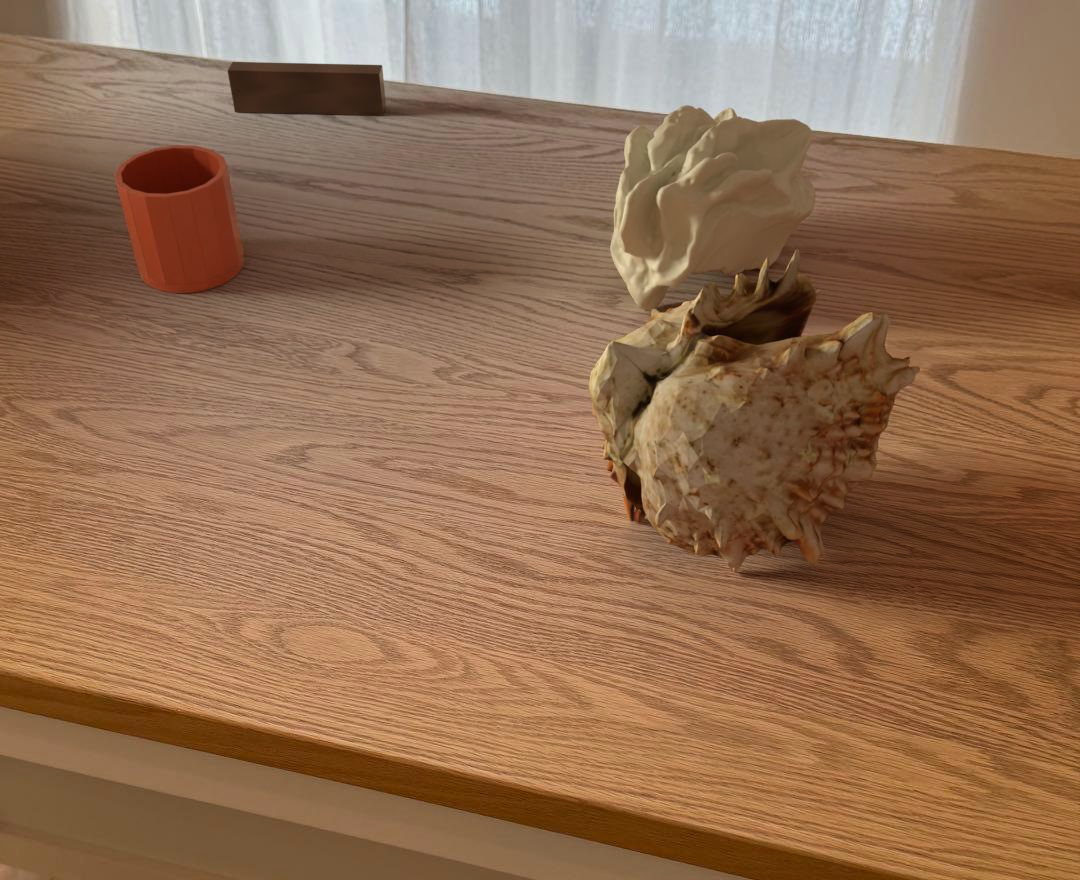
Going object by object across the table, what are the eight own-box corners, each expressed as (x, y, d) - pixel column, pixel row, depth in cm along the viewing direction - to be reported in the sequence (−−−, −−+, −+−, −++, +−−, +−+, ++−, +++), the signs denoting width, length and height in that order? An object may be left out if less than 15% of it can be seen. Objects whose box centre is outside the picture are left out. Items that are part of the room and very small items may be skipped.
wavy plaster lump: (692, 303, 105) (725, 111, 100) (817, 331, 96) (860, 121, 91) (533, 293, 93) (564, 73, 88) (660, 324, 84) (700, 81, 79)
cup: (126, 291, 94) (100, 195, 88) (155, 237, 100) (133, 143, 94) (230, 295, 94) (211, 198, 88) (254, 240, 99) (237, 146, 94)
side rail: (234, 112, 116) (227, 70, 114) (239, 103, 118) (232, 61, 115) (383, 115, 116) (379, 73, 113) (386, 106, 117) (382, 64, 114)
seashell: (974, 271, 61) (813, 181, 73) (645, 365, 57) (530, 253, 69) (944, 558, 72) (807, 439, 83) (664, 655, 67) (561, 516, 79)
